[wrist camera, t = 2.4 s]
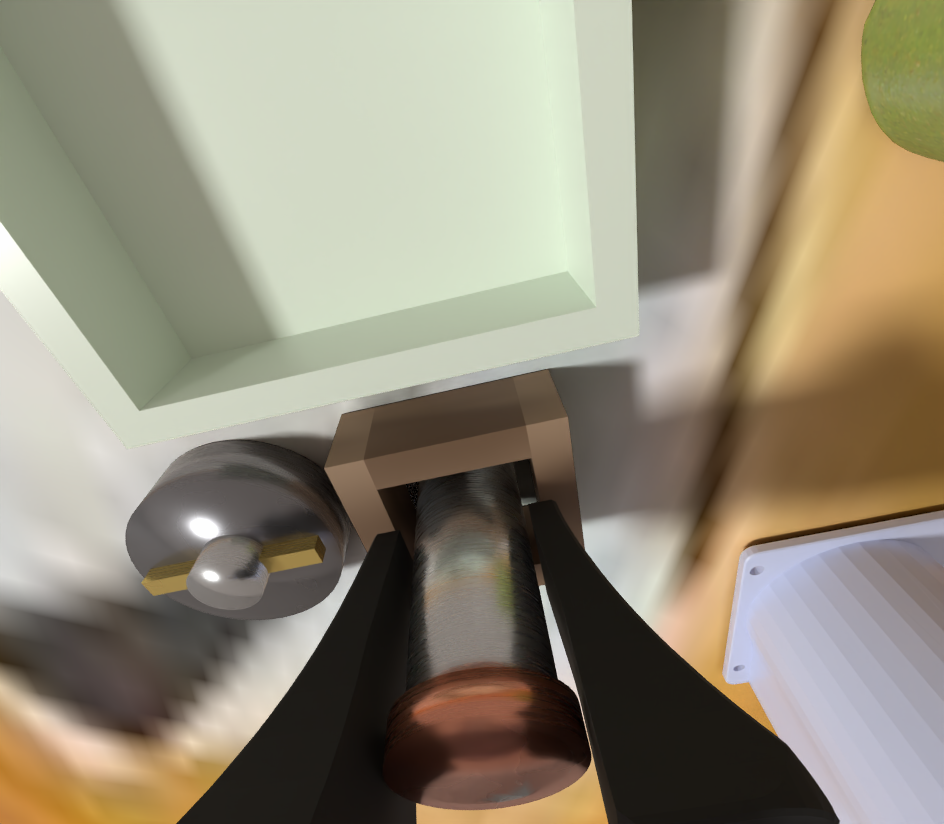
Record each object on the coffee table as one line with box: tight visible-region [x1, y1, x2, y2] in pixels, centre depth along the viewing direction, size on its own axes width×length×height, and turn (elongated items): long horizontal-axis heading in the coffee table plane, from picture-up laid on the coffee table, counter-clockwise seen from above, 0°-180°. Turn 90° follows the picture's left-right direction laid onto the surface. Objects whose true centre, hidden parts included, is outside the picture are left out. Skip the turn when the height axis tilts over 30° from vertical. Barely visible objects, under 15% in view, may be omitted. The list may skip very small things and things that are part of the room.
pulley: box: [126, 440, 352, 620], centre depth 14 cm, size 6×6×3 cm
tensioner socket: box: [324, 369, 585, 586], centre depth 14 cm, size 6×6×2 cm
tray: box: [0, 0, 639, 449], centre depth 8 cm, size 11×11×3 cm
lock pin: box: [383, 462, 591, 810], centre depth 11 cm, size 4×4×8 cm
